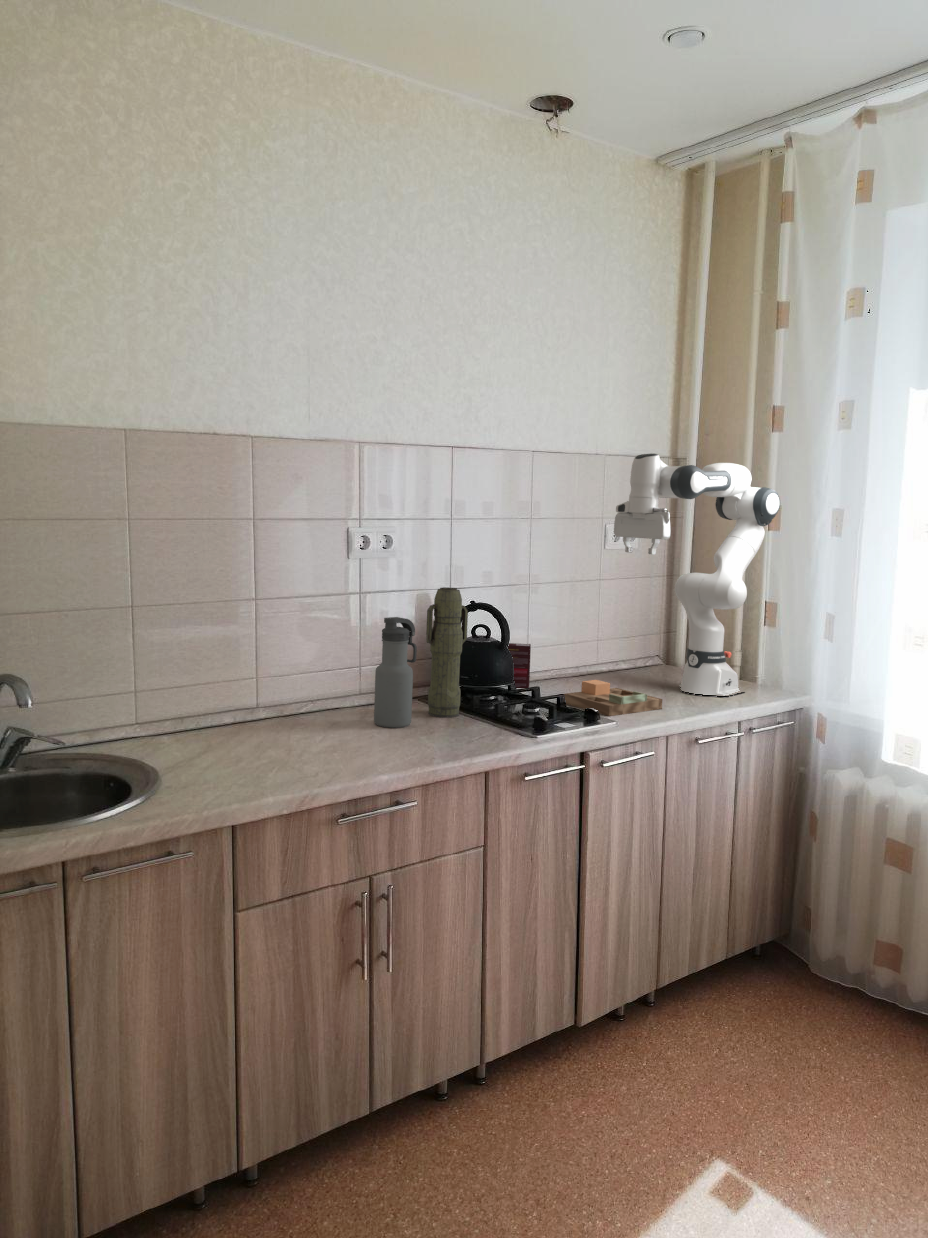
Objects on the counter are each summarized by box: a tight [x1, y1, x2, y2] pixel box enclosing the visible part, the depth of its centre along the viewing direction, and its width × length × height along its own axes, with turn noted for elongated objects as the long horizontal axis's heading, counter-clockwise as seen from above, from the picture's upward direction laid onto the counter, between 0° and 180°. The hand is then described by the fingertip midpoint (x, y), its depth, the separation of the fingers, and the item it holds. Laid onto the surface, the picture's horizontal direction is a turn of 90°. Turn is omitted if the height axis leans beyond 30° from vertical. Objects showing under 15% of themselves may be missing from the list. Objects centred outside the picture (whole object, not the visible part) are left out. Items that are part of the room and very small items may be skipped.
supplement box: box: [508, 642, 532, 689], centre depth 287 cm, size 9×5×16 cm, turn 84°
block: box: [580, 679, 611, 695], centre depth 280 cm, size 6×6×3 cm
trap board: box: [563, 687, 663, 717], centre depth 276 cm, size 22×19×5 cm
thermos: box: [425, 586, 469, 719], centre depth 254 cm, size 9×12×35 cm
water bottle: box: [373, 616, 418, 729], centre depth 240 cm, size 10×10×28 cm
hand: (640, 553), depth 281 cm, fingers open, 8 cm apart
